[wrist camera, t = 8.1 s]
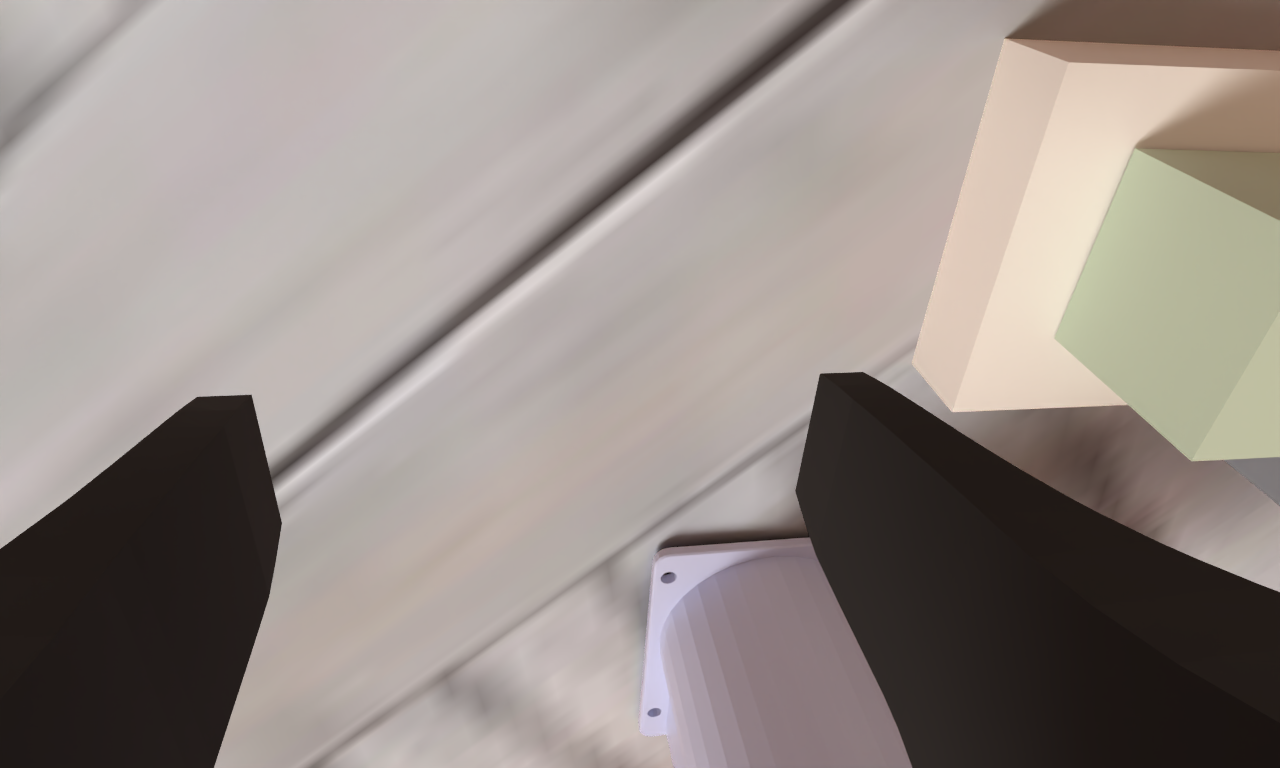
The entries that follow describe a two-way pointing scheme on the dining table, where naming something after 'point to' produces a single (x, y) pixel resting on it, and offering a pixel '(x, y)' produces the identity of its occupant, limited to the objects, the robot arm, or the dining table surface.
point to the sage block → (1189, 300)
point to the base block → (1067, 201)
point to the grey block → (1261, 474)
